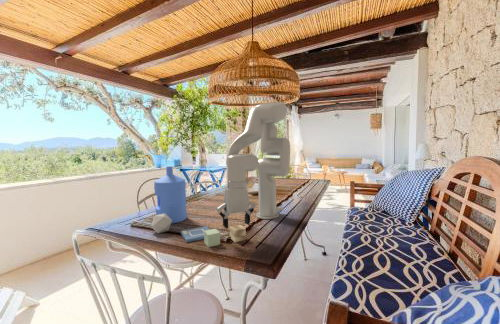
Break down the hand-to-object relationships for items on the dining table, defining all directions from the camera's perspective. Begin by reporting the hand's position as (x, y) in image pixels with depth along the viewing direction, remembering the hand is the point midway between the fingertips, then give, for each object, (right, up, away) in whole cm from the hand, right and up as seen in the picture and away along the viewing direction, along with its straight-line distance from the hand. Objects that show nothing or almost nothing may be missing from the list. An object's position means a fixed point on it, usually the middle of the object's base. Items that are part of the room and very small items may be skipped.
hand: (236, 225), depth 102 cm
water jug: (-36, -4, +27) cm, 45 cm away
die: (-35, -6, +11) cm, 37 cm away
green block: (-10, -7, -3) cm, 12 cm away
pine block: (0, -6, +1) cm, 6 cm away
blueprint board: (-18, -6, +6) cm, 20 cm away
